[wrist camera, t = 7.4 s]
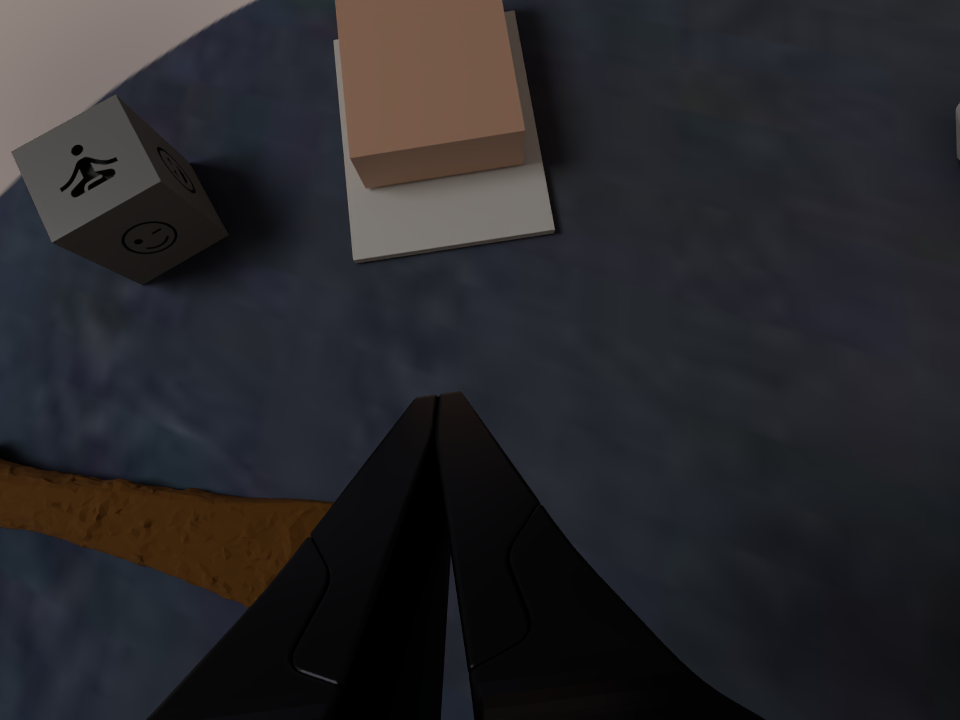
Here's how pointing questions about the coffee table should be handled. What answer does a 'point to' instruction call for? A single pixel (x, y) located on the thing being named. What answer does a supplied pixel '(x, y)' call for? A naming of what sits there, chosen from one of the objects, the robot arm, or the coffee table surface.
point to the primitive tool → (164, 526)
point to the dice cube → (118, 193)
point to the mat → (451, 195)
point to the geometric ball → (958, 130)
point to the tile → (428, 88)
